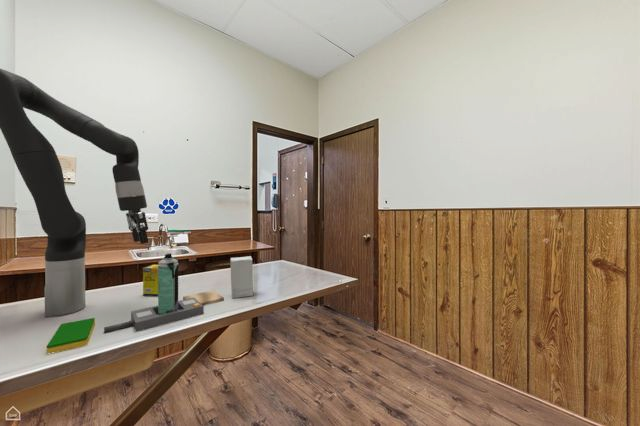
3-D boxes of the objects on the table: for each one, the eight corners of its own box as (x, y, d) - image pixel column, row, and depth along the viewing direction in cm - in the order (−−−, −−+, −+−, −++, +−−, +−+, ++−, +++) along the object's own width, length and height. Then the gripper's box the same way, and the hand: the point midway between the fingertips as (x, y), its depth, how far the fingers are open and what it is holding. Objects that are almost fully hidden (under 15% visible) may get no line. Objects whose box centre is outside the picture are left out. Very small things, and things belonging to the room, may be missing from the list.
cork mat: (192, 308, 87) (192, 305, 86) (183, 299, 95) (183, 296, 95) (223, 300, 94) (223, 297, 94) (213, 292, 102) (213, 290, 102)
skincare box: (251, 291, 104) (252, 255, 104) (253, 296, 98) (253, 258, 98) (230, 293, 101) (230, 256, 101) (230, 299, 96) (230, 260, 95)
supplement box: (157, 296, 97) (157, 268, 97) (142, 295, 98) (142, 267, 97) (167, 291, 103) (167, 264, 103) (153, 290, 103) (152, 264, 103)
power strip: (105, 339, 66) (105, 328, 66) (103, 326, 73) (103, 316, 73) (203, 313, 82) (203, 304, 82) (194, 304, 90) (194, 296, 90)
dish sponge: (95, 325, 74) (95, 317, 74) (87, 346, 63) (87, 337, 63) (61, 332, 70) (61, 323, 70) (46, 356, 59) (45, 346, 59)
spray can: (182, 314, 82) (182, 252, 81) (167, 321, 76) (166, 256, 76) (169, 311, 83) (169, 251, 83) (154, 318, 78) (153, 254, 78)
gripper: (112, 197, 87) (123, 243, 89) (121, 195, 77) (133, 247, 79) (138, 195, 92) (147, 238, 94) (150, 193, 83) (159, 241, 85)
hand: (141, 242), depth 87 cm, fingers open, 8 cm apart
